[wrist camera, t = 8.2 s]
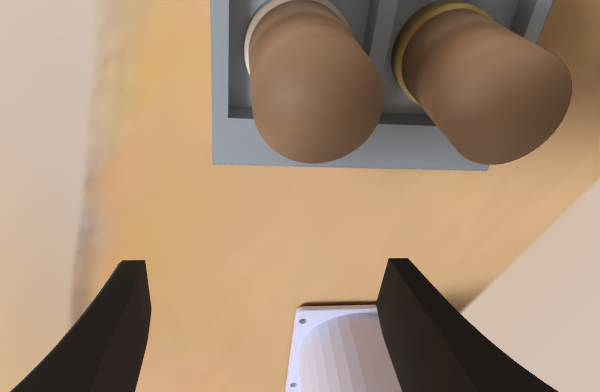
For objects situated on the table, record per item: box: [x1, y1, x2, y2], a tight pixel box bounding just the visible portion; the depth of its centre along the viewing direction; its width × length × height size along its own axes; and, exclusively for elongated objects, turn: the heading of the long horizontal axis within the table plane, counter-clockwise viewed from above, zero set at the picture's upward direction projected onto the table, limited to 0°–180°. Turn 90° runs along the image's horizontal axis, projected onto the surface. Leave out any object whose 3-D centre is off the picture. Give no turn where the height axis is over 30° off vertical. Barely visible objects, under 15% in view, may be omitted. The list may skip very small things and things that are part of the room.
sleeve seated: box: [244, 0, 384, 164], centre depth 16 cm, size 4×4×6 cm
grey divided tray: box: [210, 0, 553, 171], centre depth 19 cm, size 10×13×2 cm
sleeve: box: [391, 0, 572, 165], centre depth 17 cm, size 4×4×6 cm
